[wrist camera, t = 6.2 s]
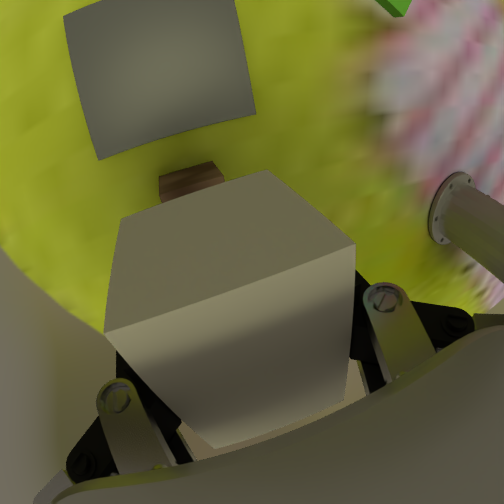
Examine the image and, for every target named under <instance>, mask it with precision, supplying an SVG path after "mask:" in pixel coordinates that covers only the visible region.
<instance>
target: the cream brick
mask: <svg viewBox="0 0 504 504" xmlns="http://www.w3.org/2000/svg"><path fill="white" fill-rule="evenodd" d="M355 258H356V243H354V242H353V241H352V240H351V239H350V238H349V237H348V236H347V235H345V234H344V233H343V232H342V231H341V230H340V229H339V228H337V227H336V226H335V225H334V224H333V223H332V222H331V221H329V220H328V219H327V218H326V217H325V216H324V215H322V214H321V213H320V212H319V211H318V210H316V209H315V208H314V207H313V206H312V205H310V204H309V203H308V202H307V201H306V200H304V199H303V198H302V197H301V196H300V195H298V194H297V193H296V192H295V191H293V190H292V189H291V188H290V187H289V186H287V185H286V184H285V183H284V182H282V181H281V180H280V179H278V178H277V177H276V176H275V175H273V174H272V173H271V172H270V171H268V170H264V171H260V172H257V173H253V174H250V175H247V176H243V177H240V178H237V179H233V180H230V181H227V182H224V183H221V184H217V185H214V186H211V187H208V188H205V189H202V190H199V191H196V192H193V193H190V194H187V195H184V196H181V197H179V198H176V199H173V200H170V201H167V202H165V203H162V204H159V205H156V206H154V207H151V208H148V209H145V210H143V211H140V212H138V213H135V214H132V215H130V216H127V217H125V218H122V219H121V222H120V227H119V232H118V237H117V242H116V247H115V252H114V258H113V264H112V270H111V276H110V283H109V290H108V297H107V305H106V313H105V323H104V333H103V334H104V335H105V336H106V337H107V339H108V340H109V341H110V342H111V344H112V345H113V346H114V347H115V349H116V350H117V351H118V352H119V354H120V355H121V356H122V357H123V358H124V360H125V361H126V362H127V363H128V364H129V365H130V367H131V368H132V369H133V370H134V371H135V372H136V373H137V374H138V376H139V377H140V378H141V379H142V380H143V381H144V382H145V383H146V384H147V385H148V386H149V388H150V389H151V390H152V391H153V392H154V393H155V394H156V395H157V396H158V397H159V398H160V399H161V400H162V401H163V402H164V403H165V404H166V405H167V406H168V407H169V408H170V409H171V410H172V411H173V412H174V413H175V414H176V415H177V416H178V417H179V418H180V419H181V420H182V421H184V422H185V423H186V424H187V425H188V426H189V427H190V428H191V429H192V430H193V431H194V432H196V433H197V434H198V435H199V436H200V437H201V438H202V439H204V440H205V441H206V442H207V443H208V444H209V445H211V446H212V447H213V448H214V449H217V448H221V447H224V446H228V445H231V444H234V443H238V442H241V441H244V440H247V439H250V438H253V437H256V436H259V435H262V434H265V433H267V432H270V431H273V430H276V429H278V428H281V427H283V426H286V425H289V424H291V423H294V422H296V421H299V420H301V419H303V418H306V417H308V416H310V415H313V414H315V413H317V412H319V411H322V410H324V409H326V408H328V407H330V406H332V405H334V404H337V403H339V402H341V401H343V400H344V394H345V386H346V379H347V371H348V363H349V353H350V344H351V333H352V320H353V306H354V287H355Z"/></svg>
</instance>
